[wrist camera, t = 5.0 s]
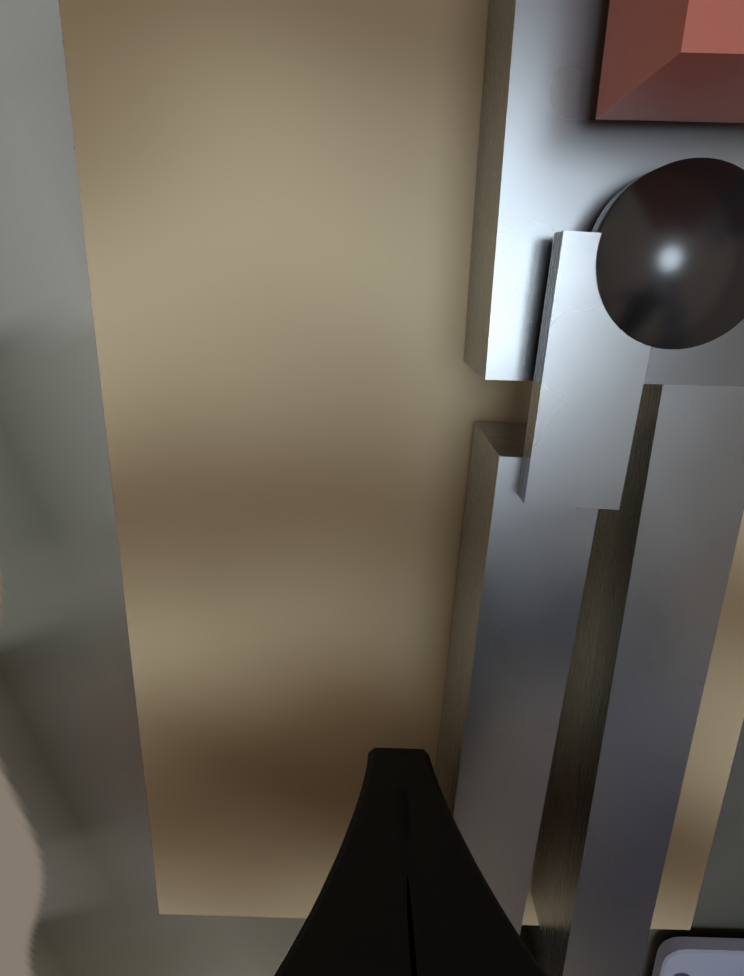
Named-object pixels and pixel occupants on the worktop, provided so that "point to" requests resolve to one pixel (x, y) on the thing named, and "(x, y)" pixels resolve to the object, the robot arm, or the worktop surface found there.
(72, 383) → the worktop surface
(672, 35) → the tab
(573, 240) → the bar
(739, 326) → the tongs body
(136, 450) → the board
